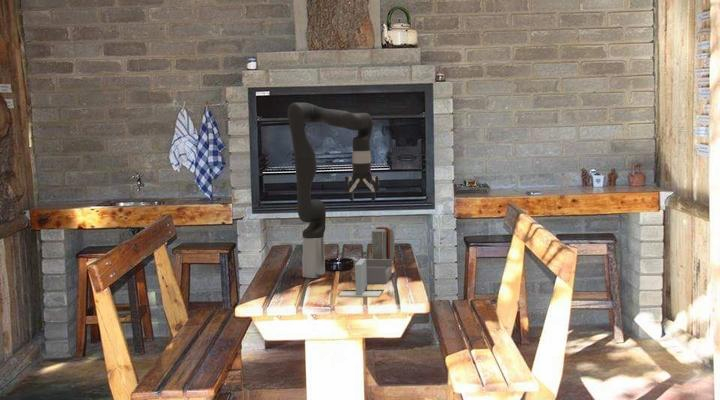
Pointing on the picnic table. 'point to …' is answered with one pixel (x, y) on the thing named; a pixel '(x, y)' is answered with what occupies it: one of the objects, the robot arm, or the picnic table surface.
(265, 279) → the picnic table surface
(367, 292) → the mat
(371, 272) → the rack
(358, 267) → the grey flat slab
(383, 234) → the decorative stone tablet
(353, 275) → the offcut
